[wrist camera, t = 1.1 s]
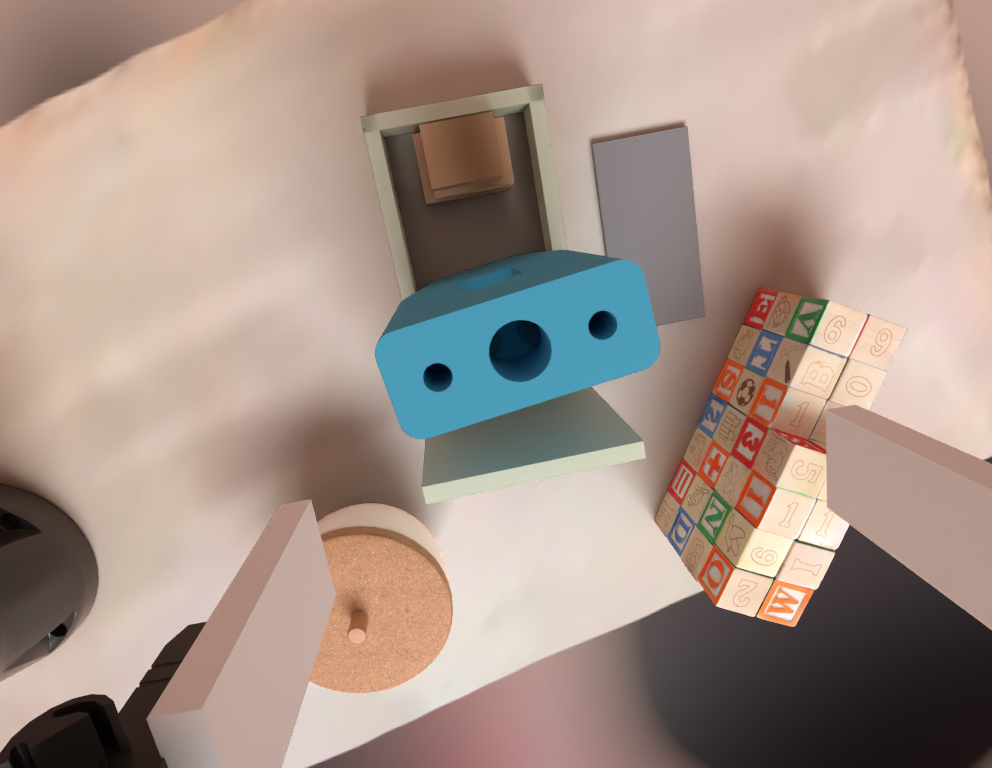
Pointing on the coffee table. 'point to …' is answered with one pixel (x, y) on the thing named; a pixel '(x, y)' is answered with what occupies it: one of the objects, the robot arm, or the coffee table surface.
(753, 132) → the coffee table surface
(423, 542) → the lidded bowl
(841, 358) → the stack of blocks
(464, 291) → the block
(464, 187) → the offcut stack
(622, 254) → the felt mat
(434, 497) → the frame
